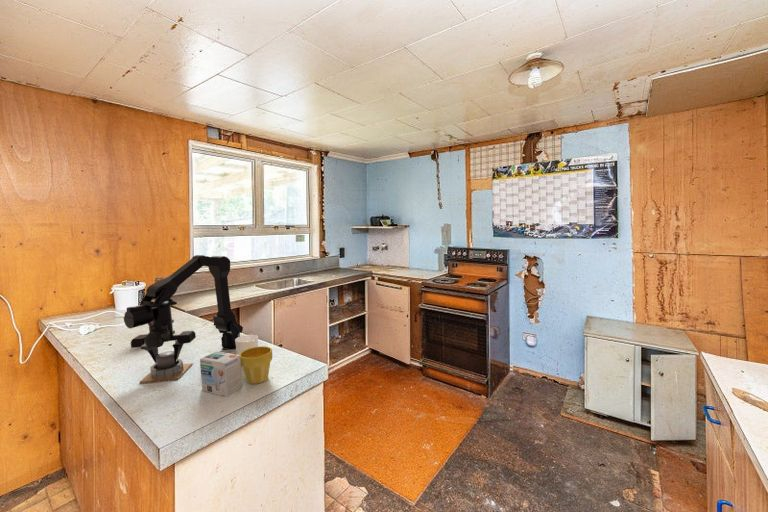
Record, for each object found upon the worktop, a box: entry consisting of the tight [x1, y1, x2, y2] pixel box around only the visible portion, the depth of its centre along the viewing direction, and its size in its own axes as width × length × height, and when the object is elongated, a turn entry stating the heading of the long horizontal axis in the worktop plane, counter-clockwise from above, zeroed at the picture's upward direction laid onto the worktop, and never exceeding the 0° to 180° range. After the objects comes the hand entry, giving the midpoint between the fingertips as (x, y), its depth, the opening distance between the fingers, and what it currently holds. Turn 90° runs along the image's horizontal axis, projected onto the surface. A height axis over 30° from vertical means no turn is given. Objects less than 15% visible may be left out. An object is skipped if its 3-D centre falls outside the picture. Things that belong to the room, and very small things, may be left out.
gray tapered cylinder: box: [155, 350, 177, 369], centre depth 116 cm, size 6×6×4 cm
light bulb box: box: [199, 350, 243, 397], centre depth 105 cm, size 11×7×11 cm, turn 69°
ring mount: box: [139, 358, 193, 384], centre depth 117 cm, size 12×12×3 cm
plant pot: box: [239, 346, 273, 385], centre depth 110 cm, size 10×10×10 cm
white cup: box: [235, 334, 259, 368], centre depth 123 cm, size 8×8×10 cm
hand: (166, 362), depth 116 cm, fingers closed on gray tapered cylinder, 6 cm apart
